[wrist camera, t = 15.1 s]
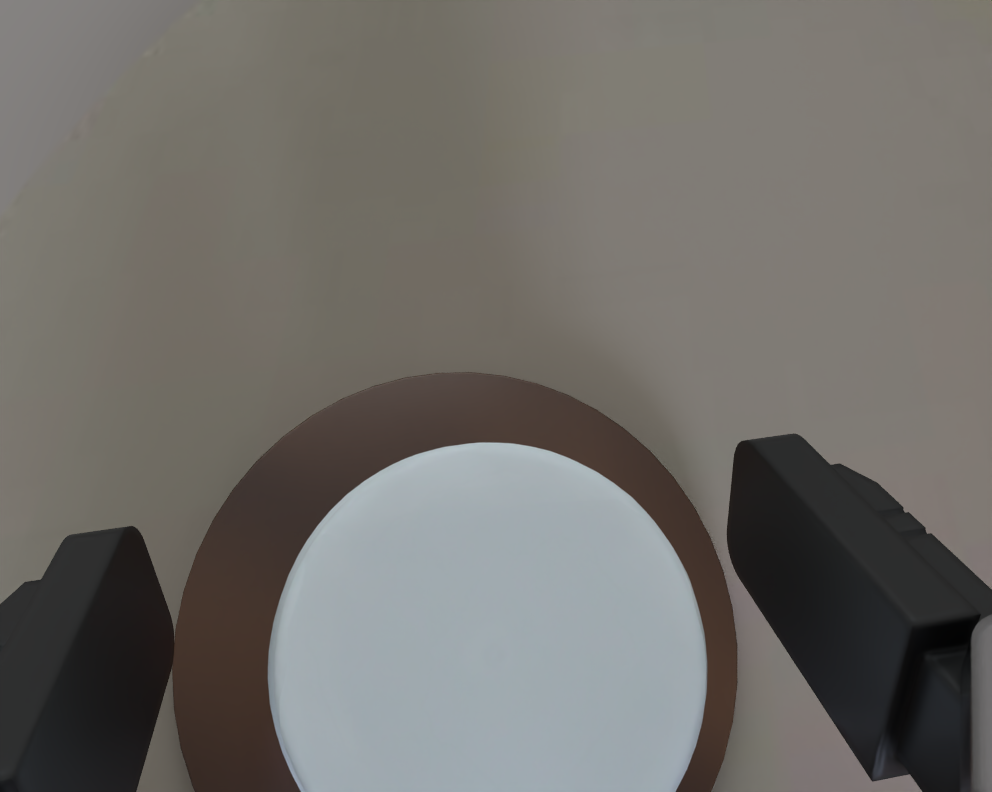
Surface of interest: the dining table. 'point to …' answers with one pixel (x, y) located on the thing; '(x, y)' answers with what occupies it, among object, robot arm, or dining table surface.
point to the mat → (326, 481)
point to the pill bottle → (487, 634)
